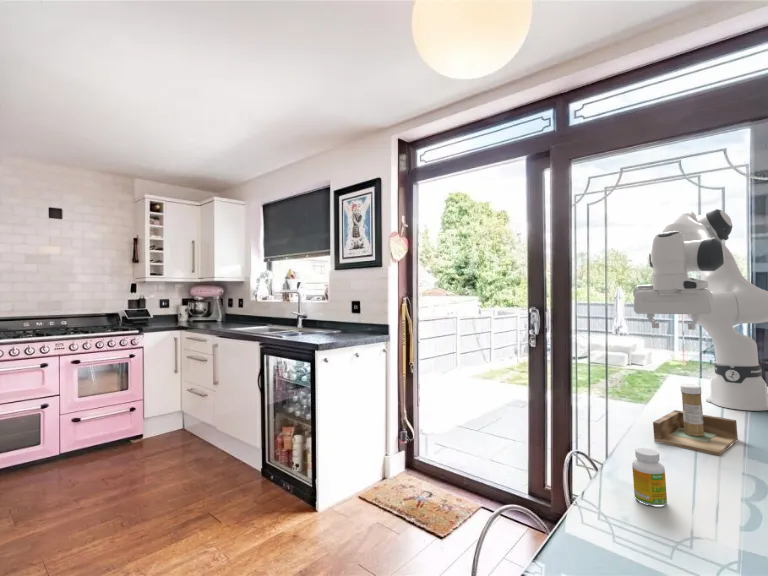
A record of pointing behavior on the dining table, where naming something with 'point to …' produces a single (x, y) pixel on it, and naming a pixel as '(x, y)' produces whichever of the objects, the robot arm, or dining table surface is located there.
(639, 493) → the supplement bottle
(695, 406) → the sprinkles bottle
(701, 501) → the dining table surface
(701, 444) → the corner arena
